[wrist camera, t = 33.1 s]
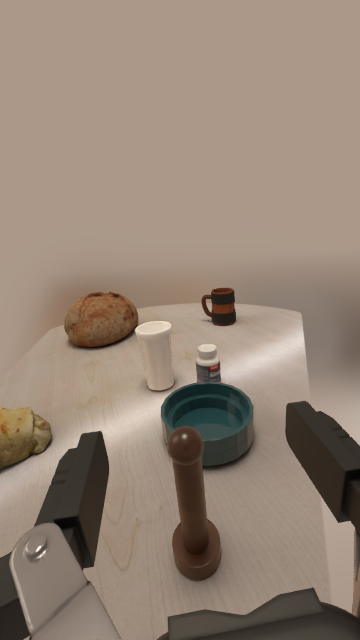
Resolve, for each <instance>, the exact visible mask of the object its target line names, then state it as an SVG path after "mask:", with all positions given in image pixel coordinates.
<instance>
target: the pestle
mask: <svg viewBox="0 0 360 640" xmlns="http://www.w3.org/2000/svg"><path fill="white" fill-rule="evenodd" d="M167 448H168V452H169V455H170V457H171V458H172V461H173V469H174V476H175V484H176V491H177V499H178V506H179V514H180V521H181V523H180V524H179V525H178V526H177V528H176V529H175V532H174V534H173V540H172V545H173V552H174V559H175V563H176V565H177V567H178V569H179V570H180V572H181V573H182V574H183V575H185V576H186V577H188V578H190V579H193V580H202V579H205V578H207V577H209V576H210V575H212V574H213V573H214V572H215V570H216V569H217V567H218V565H219V562H220V558H221V548H220V537H219V533H218V531H217V529H216V527H215V526H214V524H213V523H212V522H211V521H209V520H208V519H207V513H206V502H205V491H204V479H203V468H202V456H201V455H202V453H203V449H204V443H203V439H202V436H201V435H200V433H199V432H198V431H197V430H196V429H194V428H193V427H190V426H181V427H178V428H176V429H175V430H174V431H173V432H172V433H171V434H170V436H169V439H168V444H167Z"/></svg>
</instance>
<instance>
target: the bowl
mask: <svg viewBox="0 0 360 640" xmlns="http://www.w3.org/2000/svg"><path fill="white" fill-rule="evenodd" d="M161 420H162V427H163V435H164V440H165V442H166V444H168V439H169V436H170V434H171V433H172V432H173V431H174V430H175V429H176V428H178V427H181V426H190V427H193V428H194V429H196V430H197V431H198V432H199V433H200V435H201V436H202V439H203V443H204V449H203V453H202V455H201V456H202V466H212V465H222V464H225V463H228V462H230V461H233V460H235V459H237V458H239V457H240V456H241V455H242V454H243V453H245V452H246V451H247V450H248V449H249V447H250V445H251V443H252V441H253V432H254V416H253V405H252V402H251V400H250V398H249V397H248V396H247V395H246V394H245V393H244V392H243V391H241V390H240V389H238V388H236V387H234V386H231V385H228V384H224V383H220V382H199V383H193V384H189V385H186V386H183V387H181V388H179V389H177V390H175V391H174V392H172V393H171V394H170V395H169V396H168V397H167V398H166V399H165V401H164V403H163V405H162V406H161Z"/></svg>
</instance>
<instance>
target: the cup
mask: <svg viewBox="0 0 360 640" xmlns="http://www.w3.org/2000/svg"><path fill="white" fill-rule="evenodd" d="M135 332H136V336H137V338H138V341H139V346H140V351H141V355H142V360H143V365H144V370H145V375H146V380H147V385H148V387H149V388H150V389H152V390H165V389H168V388H170V387H171V386H172V385H173V384H174V375H173V363H172V350H171V336H170V335H171V332H172V325H171V324H170V323H168V322H165V321H152V322H147V323H144V324H141V325H139V326H137V328H136V329H135Z"/></svg>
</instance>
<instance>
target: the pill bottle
mask: <svg viewBox="0 0 360 640" xmlns="http://www.w3.org/2000/svg"><path fill="white" fill-rule="evenodd" d="M216 354H217V351H216V346H214V345H211V344H204V345H201V346H199V347H198V355H199V356H198V357H197V358H196V369H197V382H198V383H199V382H220V383H221V376H220V359H219V356H218V355H216Z"/></svg>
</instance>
